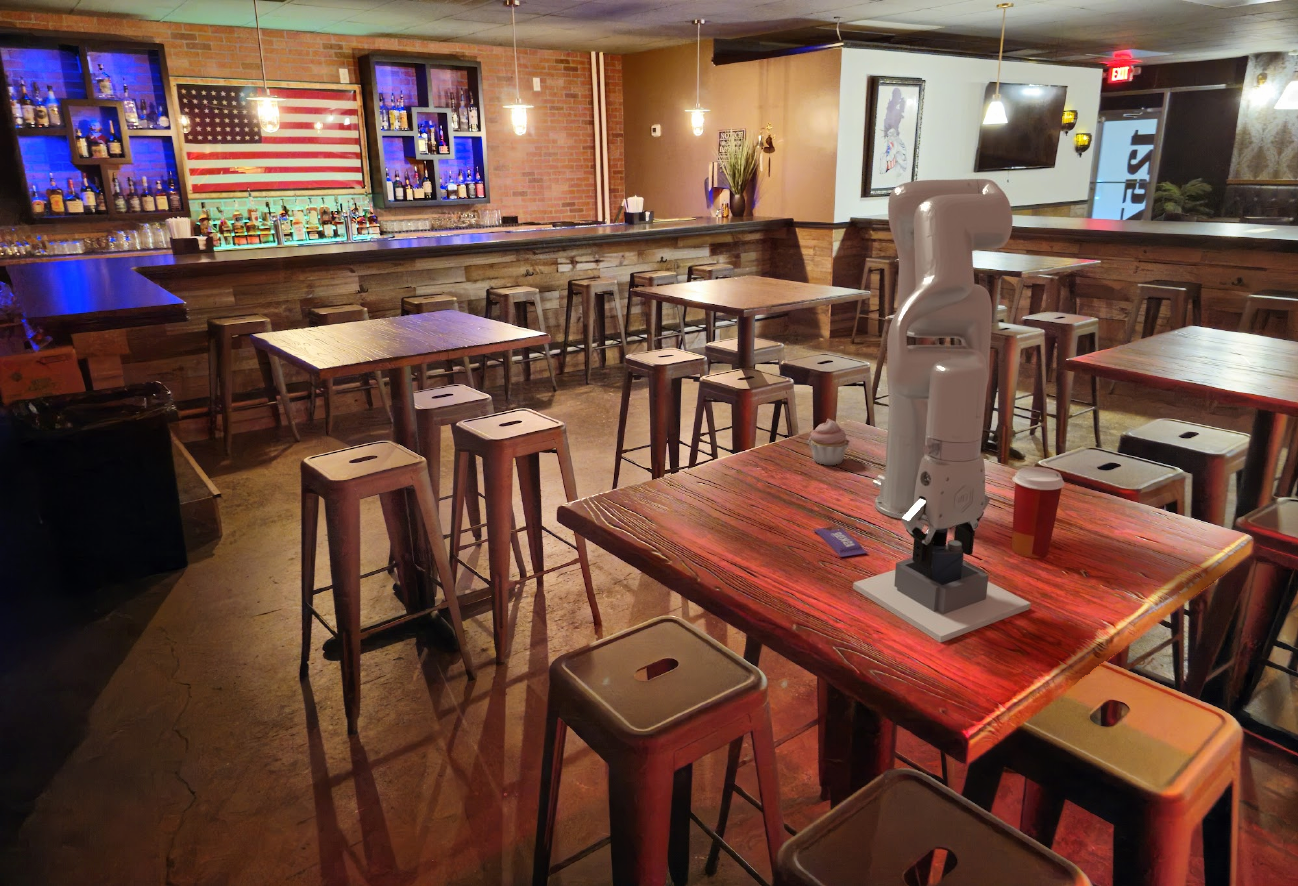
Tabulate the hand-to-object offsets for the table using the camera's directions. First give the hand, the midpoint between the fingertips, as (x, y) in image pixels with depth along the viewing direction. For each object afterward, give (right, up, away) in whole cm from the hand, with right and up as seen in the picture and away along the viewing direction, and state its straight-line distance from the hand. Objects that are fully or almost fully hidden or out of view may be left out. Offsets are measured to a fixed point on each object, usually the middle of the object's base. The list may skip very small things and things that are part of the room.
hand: (942, 557), depth 123 cm
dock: (0, -7, +2) cm, 7 cm away
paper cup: (+21, -1, +16) cm, 26 cm away
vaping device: (+1, -6, +2) cm, 6 cm away
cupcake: (-4, +13, +61) cm, 63 cm away
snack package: (-10, -1, +22) cm, 24 cm away
